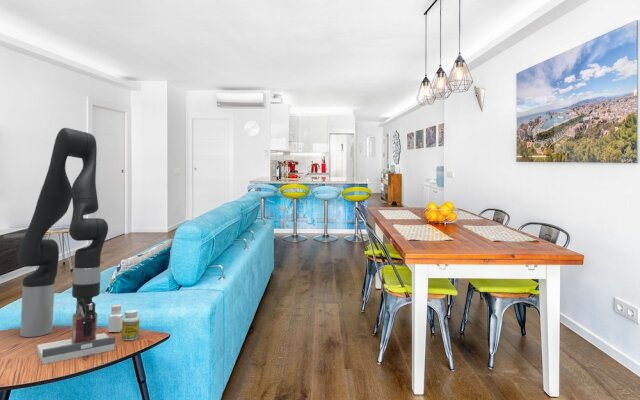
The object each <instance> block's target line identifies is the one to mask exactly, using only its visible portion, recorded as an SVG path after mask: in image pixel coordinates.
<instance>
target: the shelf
mask: <svg viewBox="0 0 640 400" xmlns="http://www.w3.org/2000/svg"><path fill="white" fill-rule="evenodd" d="M71 339H72V338H68V339H63V340H58V341H52V342H45V343H40V344H36V352H37V355H38V358H39V360H40V362H41V365H47V364H52V363H57V362H62V361H67V360H71V359H72V360H73V359H78V358H82V357H85V356H87V357H88V356H92V355H96V354H100V353H101V354H102V353H105V352H110V351H115V350H116V349H115V348H116V337H115V336H108V335H107V334H106V332H102V333H96V340H92V341H86V342H81V343H75V344H71Z"/></svg>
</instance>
